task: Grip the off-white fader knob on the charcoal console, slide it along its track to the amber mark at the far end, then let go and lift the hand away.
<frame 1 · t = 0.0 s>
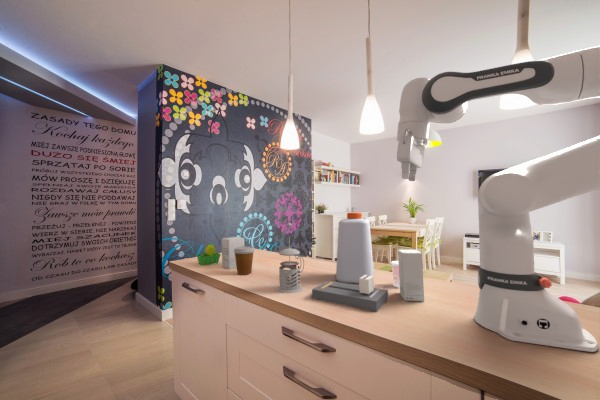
hand: (408, 180, 81), 39 cm above the worktop, tool pointing down, fingers open, 8 cm apart
beverage cup: (399, 286, 102), on the worktop
fader console: (349, 298, 89), on the worktop
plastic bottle: (355, 279, 112), on the worktop
disposable coffee cup: (244, 273, 124), on the worktop
fruit basket: (209, 264, 145), on the worktop
french press: (291, 289, 100), on the worktop
fader knob: (366, 283, 85), point 6 cm above the worktop, slide at 0.0 cm
skincare box: (410, 297, 89), on the worktop
supplement box: (233, 267, 138), on the worktop
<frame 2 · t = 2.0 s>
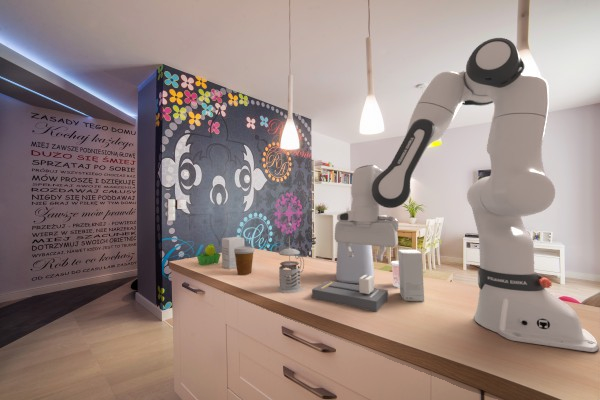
hand: (364, 258, 86), 14 cm above the worktop, tool pointing down, fingers open, 8 cm apart
nothing on the worktop moved.
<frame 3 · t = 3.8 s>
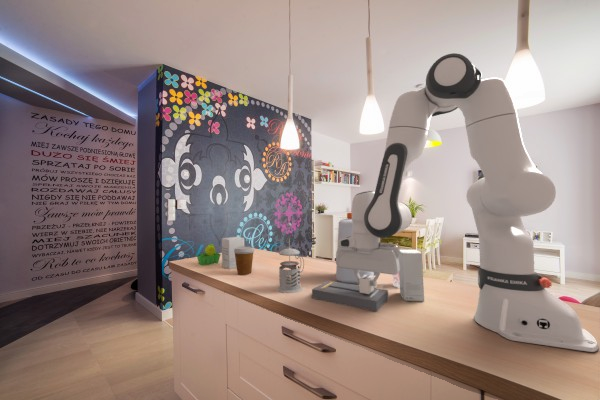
hand: (366, 284, 85), 6 cm above the worktop, tool pointing down, fingers closed on fader knob, 3 cm apart
fader knob: (366, 283, 85), point 6 cm above the worktop, slide at 0.0 cm, touching gripper
everything else where it was.
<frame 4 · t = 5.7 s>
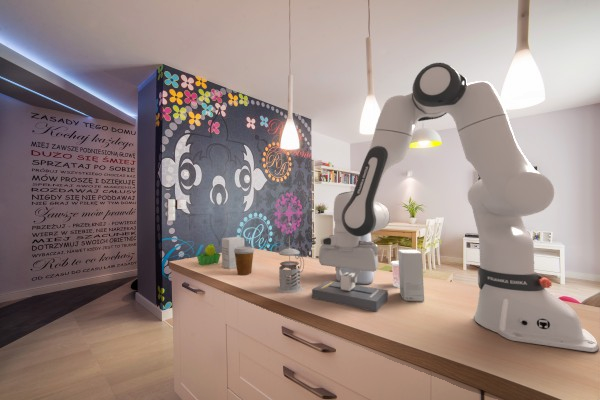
hand: (347, 281, 89), 6 cm above the worktop, tool pointing down, fingers closed on fader knob, 3 cm apart
fader knob: (347, 280, 89), point 6 cm above the worktop, slide at 6.5 cm, touching gripper
everything else where it was.
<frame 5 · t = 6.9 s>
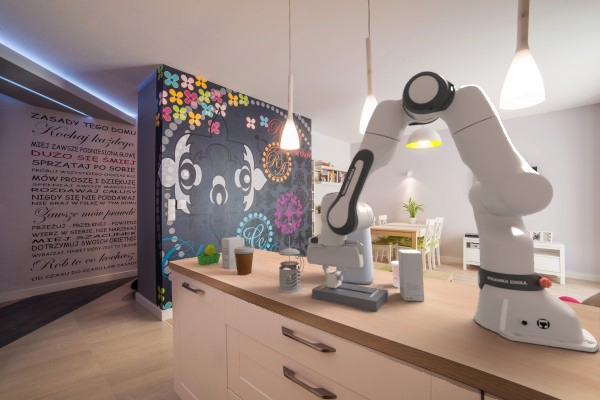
hand: (334, 279, 92), 6 cm above the worktop, tool pointing down, fingers closed on fader knob, 3 cm apart
fader knob: (334, 278, 92), point 6 cm above the worktop, slide at 11.5 cm, touching gripper
everything else where it was.
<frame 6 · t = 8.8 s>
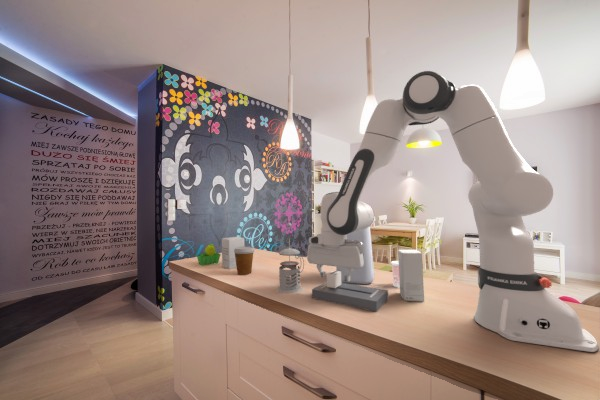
hand: (334, 278, 92), 6 cm above the worktop, tool pointing down, fingers open, 8 cm apart
fader knob: (334, 278, 92), point 6 cm above the worktop, slide at 11.6 cm
everything else where it was.
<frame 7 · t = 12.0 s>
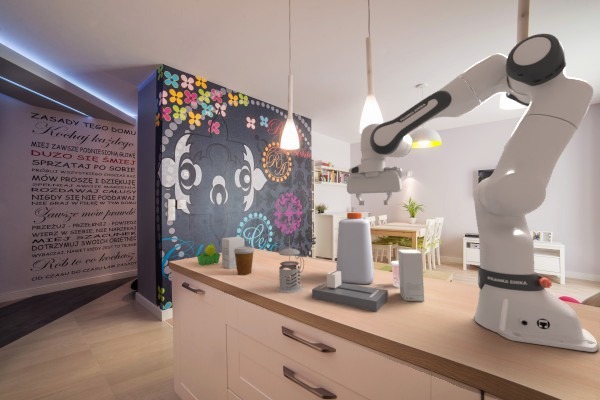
hand: (373, 205, 99), 31 cm above the worktop, tool pointing down, fingers open, 8 cm apart
nothing on the worktop moved.
at the end: fader knob slide at 11.6 cm; the gripper is holding nothing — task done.
